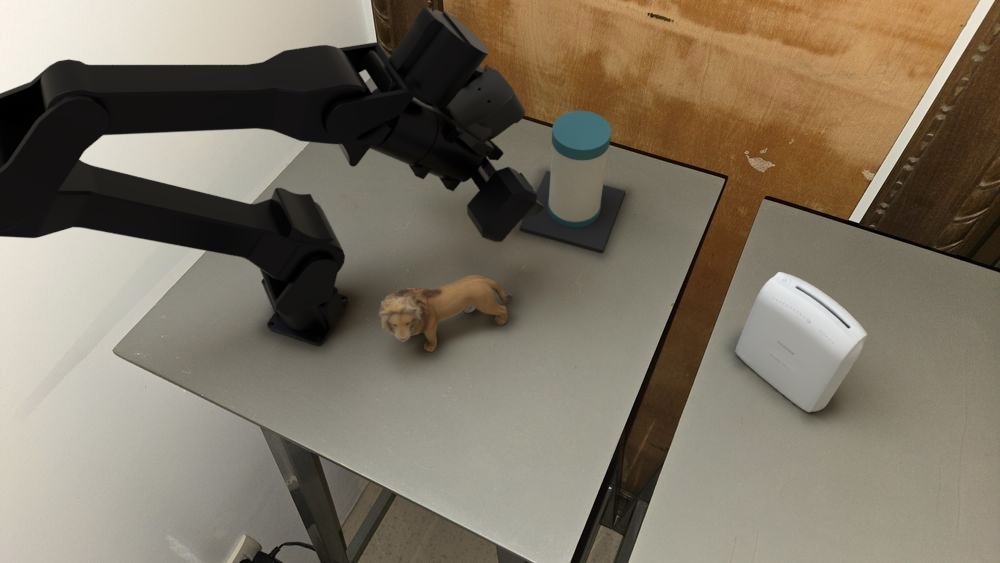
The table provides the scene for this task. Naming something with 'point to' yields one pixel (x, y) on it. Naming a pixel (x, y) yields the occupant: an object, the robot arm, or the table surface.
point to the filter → (578, 168)
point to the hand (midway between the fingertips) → (520, 182)
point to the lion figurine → (439, 307)
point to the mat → (581, 237)
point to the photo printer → (800, 341)
